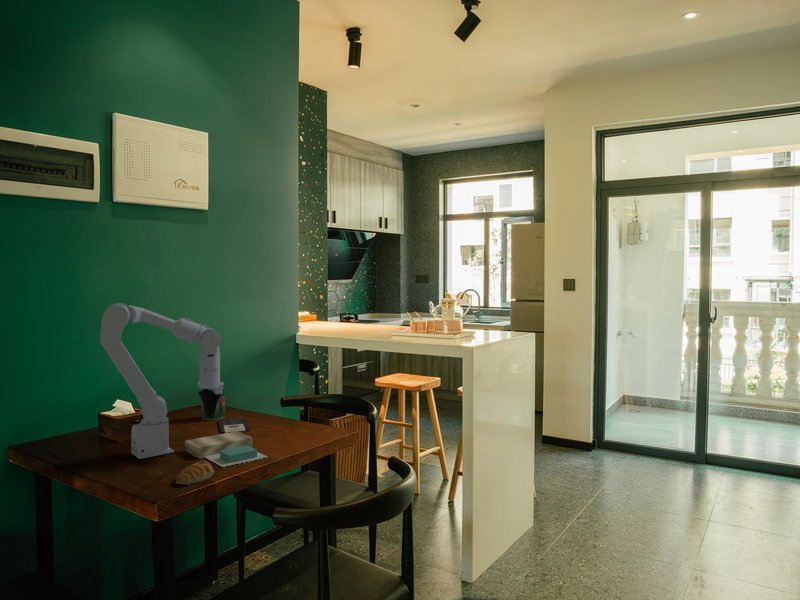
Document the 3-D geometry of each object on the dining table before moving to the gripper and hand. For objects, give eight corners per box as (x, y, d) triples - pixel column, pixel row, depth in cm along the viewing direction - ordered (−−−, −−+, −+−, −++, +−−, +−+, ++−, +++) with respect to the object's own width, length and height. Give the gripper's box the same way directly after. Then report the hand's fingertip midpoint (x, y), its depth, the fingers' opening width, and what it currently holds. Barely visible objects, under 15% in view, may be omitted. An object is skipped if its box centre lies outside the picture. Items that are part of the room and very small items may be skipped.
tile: (219, 450, 154) (219, 458, 154) (229, 455, 149) (229, 463, 149) (247, 445, 159) (247, 452, 159) (257, 449, 154) (257, 457, 154)
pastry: (191, 488, 132) (191, 472, 132) (167, 485, 134) (167, 469, 134) (216, 475, 141) (216, 460, 141) (194, 473, 143) (193, 458, 143)
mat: (222, 468, 146) (222, 466, 146) (204, 457, 155) (204, 456, 155) (267, 458, 155) (267, 456, 155) (248, 448, 164) (248, 447, 164)
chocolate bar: (244, 417, 201) (249, 429, 184) (244, 420, 201) (249, 432, 184) (218, 420, 198) (220, 432, 181) (218, 422, 198) (220, 435, 181)
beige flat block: (198, 458, 154) (198, 447, 154) (185, 450, 162) (185, 440, 162) (252, 447, 165) (252, 437, 165) (237, 440, 172) (237, 431, 172)
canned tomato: (229, 417, 204) (228, 387, 203) (209, 421, 198) (208, 390, 198) (217, 414, 209) (216, 384, 209) (197, 418, 203) (197, 387, 203)
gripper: (232, 370, 163) (233, 417, 163) (213, 365, 174) (213, 409, 174) (208, 372, 159) (209, 420, 159) (190, 367, 170) (191, 412, 170)
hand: (210, 414), depth 166 cm, fingers closed
